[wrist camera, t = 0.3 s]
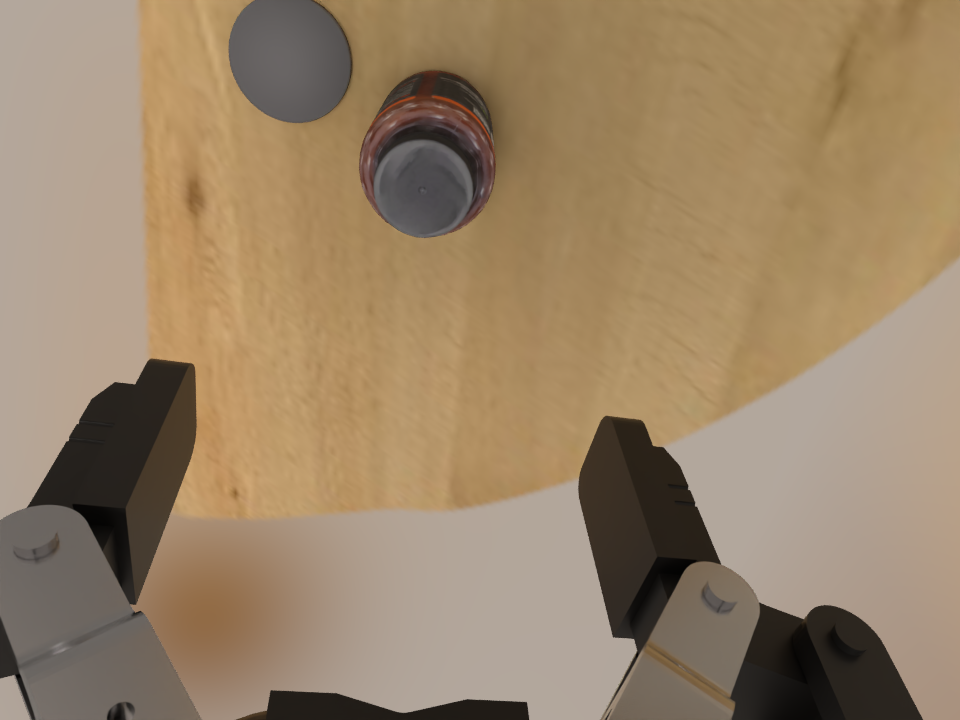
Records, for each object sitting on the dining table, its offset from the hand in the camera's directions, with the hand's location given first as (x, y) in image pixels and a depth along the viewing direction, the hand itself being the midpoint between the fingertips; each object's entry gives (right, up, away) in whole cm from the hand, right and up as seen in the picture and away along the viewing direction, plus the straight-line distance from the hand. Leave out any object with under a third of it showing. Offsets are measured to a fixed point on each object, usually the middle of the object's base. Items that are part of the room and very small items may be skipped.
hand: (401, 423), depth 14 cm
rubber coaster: (-8, +16, +22) cm, 29 cm away
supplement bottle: (-1, +14, +24) cm, 27 cm away
